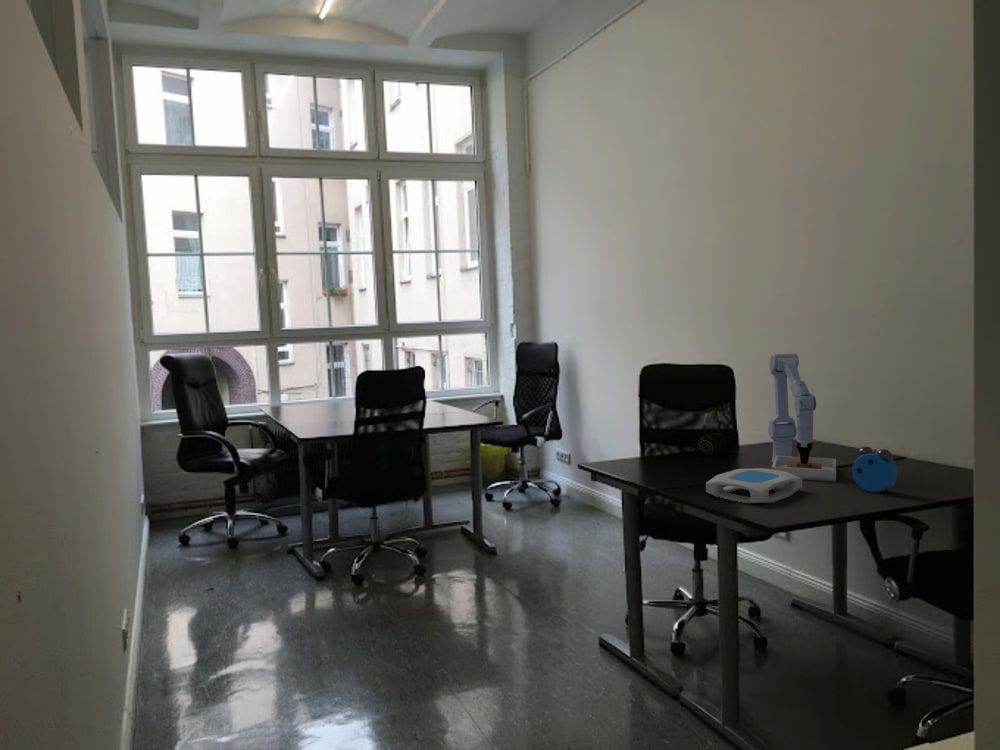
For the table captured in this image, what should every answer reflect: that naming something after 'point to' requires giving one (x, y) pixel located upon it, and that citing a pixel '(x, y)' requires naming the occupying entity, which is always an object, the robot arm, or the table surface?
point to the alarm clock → (874, 470)
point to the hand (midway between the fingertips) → (804, 462)
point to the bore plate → (811, 466)
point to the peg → (803, 464)
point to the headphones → (712, 438)
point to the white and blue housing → (754, 485)
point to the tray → (807, 474)
